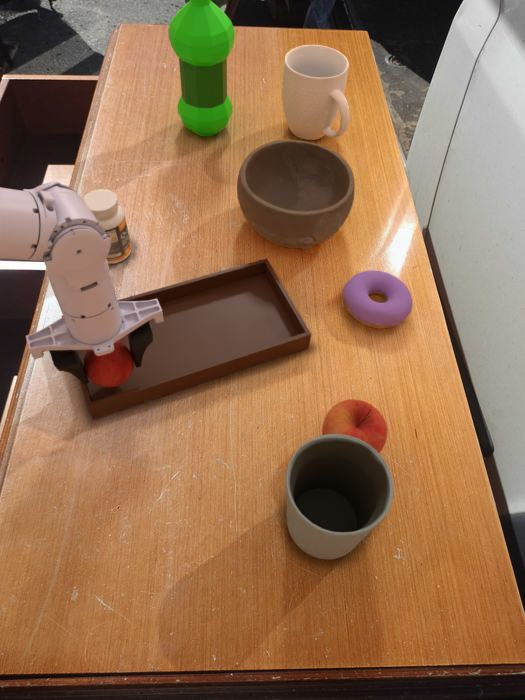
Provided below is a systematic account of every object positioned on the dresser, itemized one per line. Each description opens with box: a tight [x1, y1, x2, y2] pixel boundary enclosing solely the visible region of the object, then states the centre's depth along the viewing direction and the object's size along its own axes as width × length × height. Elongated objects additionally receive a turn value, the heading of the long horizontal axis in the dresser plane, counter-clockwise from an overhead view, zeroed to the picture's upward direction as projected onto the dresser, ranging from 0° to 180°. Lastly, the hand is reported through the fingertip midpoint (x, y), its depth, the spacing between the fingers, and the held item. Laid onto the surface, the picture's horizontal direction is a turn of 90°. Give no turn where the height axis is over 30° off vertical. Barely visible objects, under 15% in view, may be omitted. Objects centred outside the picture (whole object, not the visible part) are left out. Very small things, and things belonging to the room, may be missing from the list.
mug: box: [281, 44, 351, 141], centre depth 98 cm, size 15×11×13 cm
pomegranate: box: [84, 341, 134, 387], centre depth 67 cm, size 6×6×8 cm
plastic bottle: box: [168, 0, 236, 137], centre depth 93 cm, size 10×10×25 cm
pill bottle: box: [82, 188, 132, 264], centre depth 80 cm, size 6×6×10 cm
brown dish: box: [60, 257, 312, 420], centre depth 74 cm, size 30×15×3 cm, turn 113°
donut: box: [342, 269, 413, 329], centre depth 79 cm, size 10×9×5 cm
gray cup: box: [284, 434, 395, 560], centre depth 57 cm, size 10×10×12 cm
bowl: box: [236, 139, 356, 250], centre depth 85 cm, size 17×18×10 cm
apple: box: [321, 399, 388, 454], centre depth 64 cm, size 7×7×8 cm
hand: (110, 368), depth 68 cm, fingers closed on pomegranate, 6 cm apart
